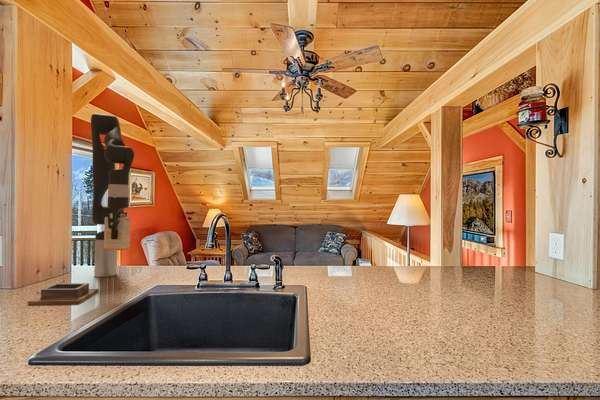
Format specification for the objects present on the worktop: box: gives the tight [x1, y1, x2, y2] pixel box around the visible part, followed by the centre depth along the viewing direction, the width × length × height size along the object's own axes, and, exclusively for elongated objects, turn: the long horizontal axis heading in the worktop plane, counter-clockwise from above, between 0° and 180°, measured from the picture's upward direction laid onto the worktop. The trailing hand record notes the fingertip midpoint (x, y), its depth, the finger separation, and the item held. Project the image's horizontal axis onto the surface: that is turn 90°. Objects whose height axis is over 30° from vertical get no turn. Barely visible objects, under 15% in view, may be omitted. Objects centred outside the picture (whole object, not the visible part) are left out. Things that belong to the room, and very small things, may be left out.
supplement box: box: [103, 216, 131, 251], centre depth 139 cm, size 8×5×13 cm, turn 85°
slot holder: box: [27, 282, 99, 306], centre depth 128 cm, size 16×16×4 cm
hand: (117, 238), depth 139 cm, fingers closed on supplement box, 5 cm apart
